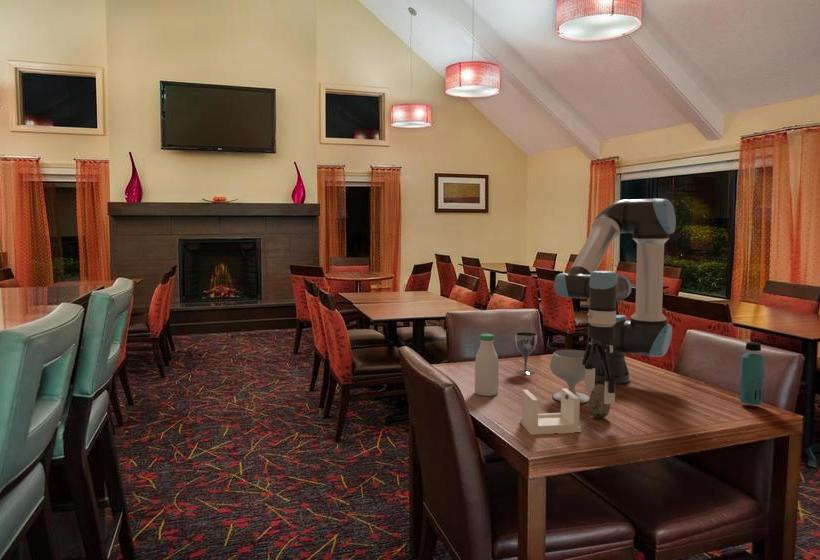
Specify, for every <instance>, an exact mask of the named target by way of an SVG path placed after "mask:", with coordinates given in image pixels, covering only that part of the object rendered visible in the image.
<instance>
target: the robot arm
mask: <svg viewBox="0 0 820 560" xmlns="http://www.w3.org/2000/svg"><path fill="white" fill-rule="evenodd" d="M676 219H677V218H676V212H675V208H674V205H673V203H672V202H671V200H668V199H667V198H636V199H635V198H634V199H633V198H632V199H629V198H628V199H627V198H626V199H620V200H617V201H615V202H613V203H611V204H609V205H607V206H606V207H605V208H603V210H601V211H600V212H599V213H598V214H597V216H595V218H594V220H593V222H592V224H591V231H590V233H589V235H588V237H587V239H586V241H585V242H584V243H583V245H582V247H581V249H580V251H579V252H578V254H577V256H576V257H575V260H574V261H573V263H572V264H571V267H570V269H569V270H568V272H567V273H566V272H562V273H561V272H560V273H559V274H557V275H556V276H555V278H554V283H553V284H554V285H553V287H554V292H555V294H556V295H557V296H558V297H563V298H568V299H584V300H588V313H587V314H586V315H587V318H588V323H589V324H588V325H587V341H586V347H585V350H584V351H585V354H584V358H583V362H582V364H583V365H585V368H586V373H585V381H584V391H585V392H589V391H591V392H592V391H593V389H594V387H595V386H596V385H595V384H596V383H600V384H604V387H605V393H604V404H610V405H615V401H616V400H615V398H616V385H618V384H619V385H621V384H625V383H628V382H630V372H629V368H628V365H627V361H626V354H632V355H640V356H647V357H650V358H651V357H657V358H660V357H664V356H665V355H666V354H667V352H668V351H669V348H670V345H671V342H672V338H673V325H672V324H670V323H667V322H668V320H667V316H665V315H664V314H663V297H664V295H663V293H664V291H663V289H664V259H665V257H664V256H665V243H666V242H668V240H669V239H670V235H671V234H674V232H675V231H676V225H677V220H676ZM620 234H632V240H633V241H634V242H635V243H636V272H635V273H636V275H635V312H634V313H633V314H631V316H630V320H629V319H628V318H627V316H626V315H623V314H617V302H620V301H623V300H625V299H626V298H628V297H629V295H631V293H632V282H631V281H630V279H628V277H626V276H624V275H618V274H617V272H615V271H614V270H613V271H611V270H598V268H599V267H600V265H601V262H602V261H603V259H604V257H605V255H606V254H607V252H608V249H609V248H610V246H611V244H612V242H613V240H615V239H617V238H618V237H619V235H620ZM586 360H587V361H586ZM592 368H595V369H592Z"/></svg>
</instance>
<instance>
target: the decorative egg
mask: <svg viewBox="0 0 820 560" xmlns="http://www.w3.org/2000/svg"><path fill="white" fill-rule="evenodd" d="M604 393H605V385H603V384H601V383H600V384H596V385H595V387H594V389H593V391H591V393H590V396H589V397H590V399H589V402H588V410H589V412H590V415H592V416H593V417H594V418H596V419H604V418H605V417H607V416H608V415H609V413H610V410H611V404H604Z"/></svg>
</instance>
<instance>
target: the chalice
mask: <svg viewBox="0 0 820 560" xmlns="http://www.w3.org/2000/svg"><path fill="white" fill-rule="evenodd" d="M584 354H585V350H580V349H579V350H578V349H559V350H556V351H554V352H553V353H552V356H551V358H550V363H549V368H550V371H551V373H552V374H553V375H555V376H556V377H557V378H559V379H561V380H563V381H564V383H566V384H567V386H568V390H569V391H570V392H572V393H573V394H574V395H576V396H577V397H578V398H580V404H586V403H589V399H590V396H589V395H588V394H585V393H583V392H582V393H581V392H577V391H575V389H576V386H577V384H579V383H580V382H582V381H584V380H585V373H586V368H585V365H583V364H582V362H583V358H584ZM586 361H587V360H586ZM592 369H595V368H592ZM552 399H554V400H556V401H558V402H561V391H560V392H559V391H558V392H556V393H554V394H552Z"/></svg>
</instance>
